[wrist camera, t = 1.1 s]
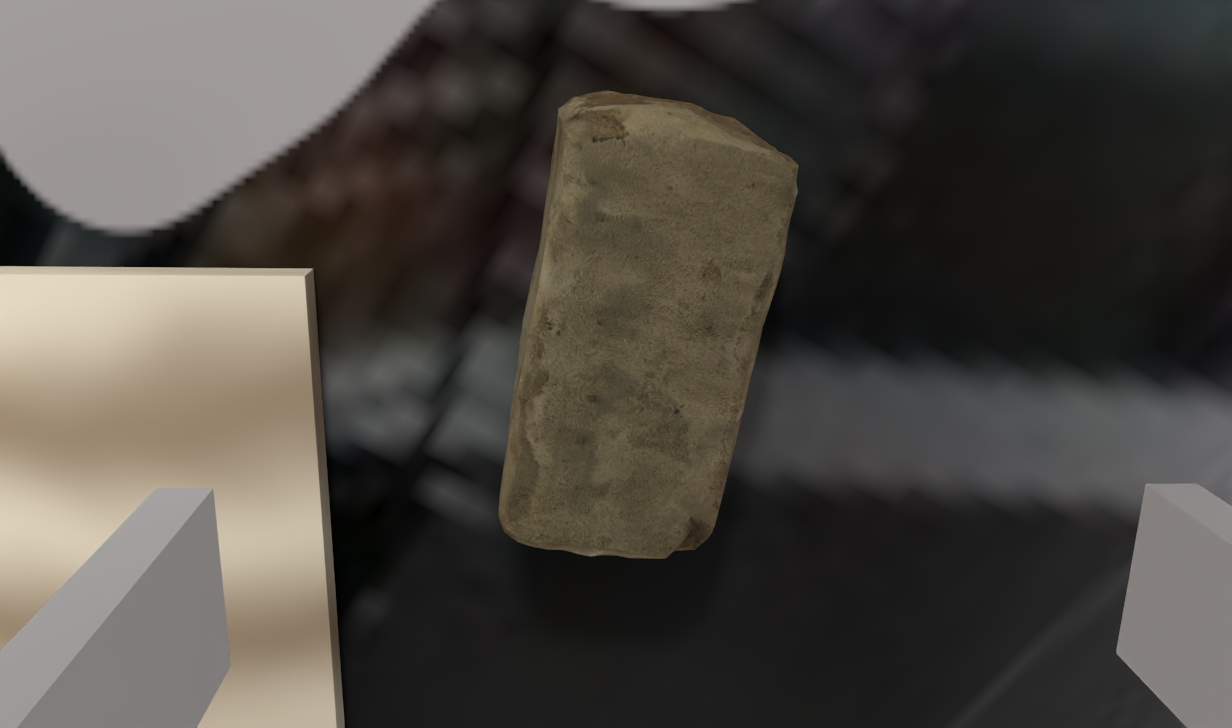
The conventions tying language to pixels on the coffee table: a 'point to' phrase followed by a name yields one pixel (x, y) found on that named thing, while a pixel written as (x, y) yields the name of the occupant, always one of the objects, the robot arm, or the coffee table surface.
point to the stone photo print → (177, 455)
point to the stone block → (641, 325)
